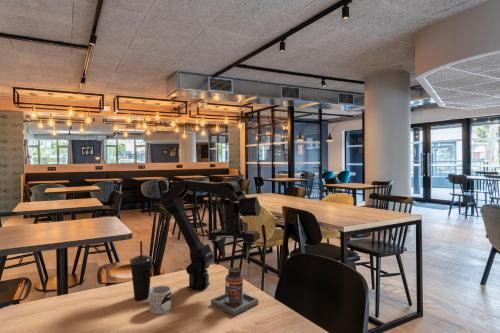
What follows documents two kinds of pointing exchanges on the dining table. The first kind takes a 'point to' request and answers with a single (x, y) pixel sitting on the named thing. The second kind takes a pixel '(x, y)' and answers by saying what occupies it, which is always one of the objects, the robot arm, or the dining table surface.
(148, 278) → the drinking cup
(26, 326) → the dining table surface
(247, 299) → the tray
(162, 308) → the mug
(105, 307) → the dining table surface
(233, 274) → the supplement bottle
